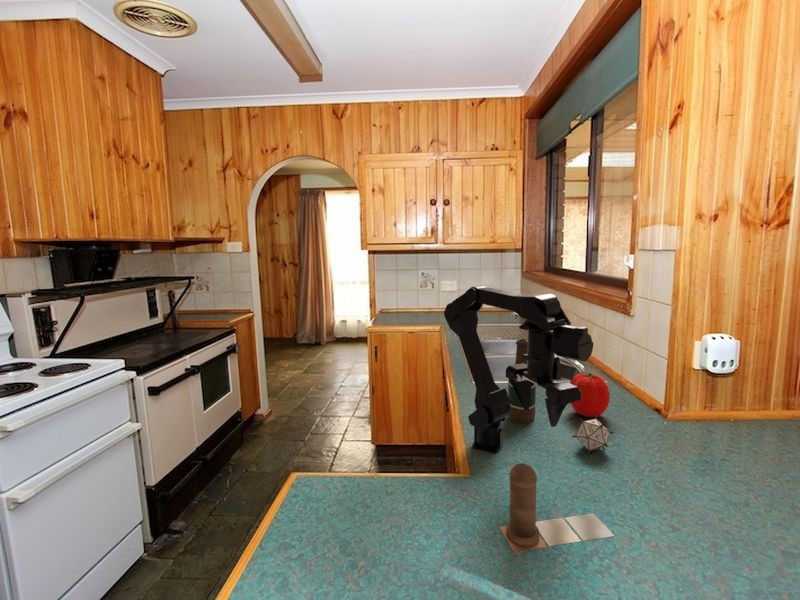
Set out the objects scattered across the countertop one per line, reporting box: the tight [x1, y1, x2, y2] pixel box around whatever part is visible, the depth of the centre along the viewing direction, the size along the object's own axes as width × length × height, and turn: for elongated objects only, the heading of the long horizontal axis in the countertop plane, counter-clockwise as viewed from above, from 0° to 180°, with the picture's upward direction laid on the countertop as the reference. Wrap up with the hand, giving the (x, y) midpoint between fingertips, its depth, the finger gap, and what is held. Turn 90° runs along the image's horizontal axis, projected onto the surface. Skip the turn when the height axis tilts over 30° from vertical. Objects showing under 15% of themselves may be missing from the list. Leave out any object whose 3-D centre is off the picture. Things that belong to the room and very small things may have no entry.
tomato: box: [569, 371, 611, 418], centre depth 120 cm, size 12×12×13 cm
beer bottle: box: [507, 338, 537, 424], centre depth 118 cm, size 8×8×24 cm
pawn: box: [505, 462, 540, 547], centre depth 71 cm, size 6×6×13 cm
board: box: [499, 513, 615, 553], centre depth 72 cm, size 21×10×1 cm, turn 99°
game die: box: [571, 416, 615, 455], centre depth 101 cm, size 9×8×10 cm
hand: (539, 417), depth 91 cm, fingers open, 9 cm apart
